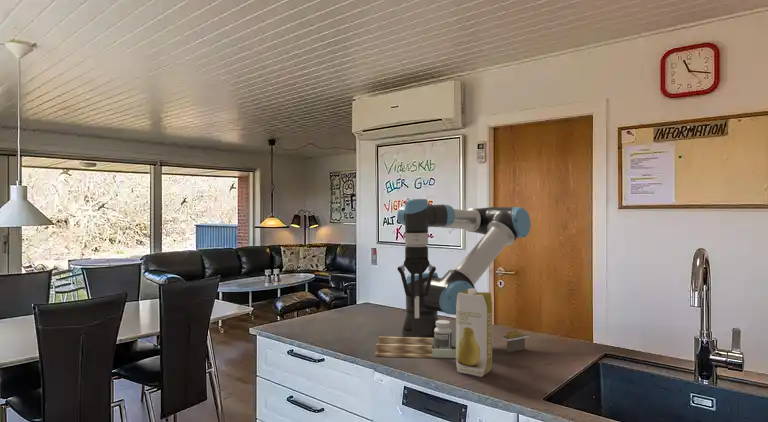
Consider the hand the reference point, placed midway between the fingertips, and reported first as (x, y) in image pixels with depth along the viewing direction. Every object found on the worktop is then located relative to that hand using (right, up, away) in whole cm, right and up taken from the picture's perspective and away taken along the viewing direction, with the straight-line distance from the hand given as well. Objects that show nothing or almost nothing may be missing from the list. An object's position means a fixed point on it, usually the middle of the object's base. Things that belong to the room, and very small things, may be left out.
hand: (416, 317), depth 163 cm
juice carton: (+15, -11, -22) cm, 28 cm away
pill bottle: (+8, -11, -2) cm, 14 cm away
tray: (+12, -11, -1) cm, 16 cm away
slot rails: (-4, -11, 0) cm, 12 cm away
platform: (+32, -12, +1) cm, 35 cm away
